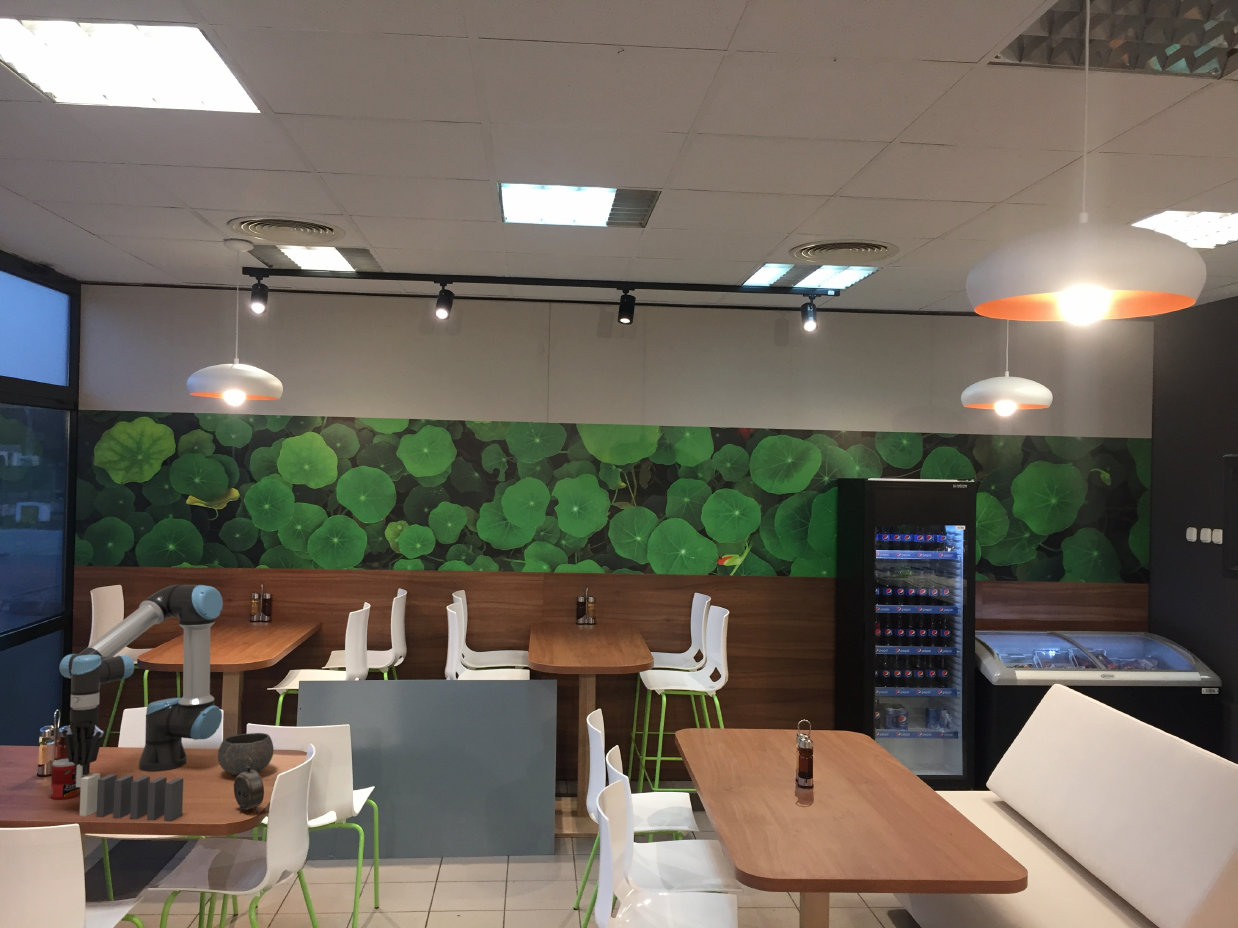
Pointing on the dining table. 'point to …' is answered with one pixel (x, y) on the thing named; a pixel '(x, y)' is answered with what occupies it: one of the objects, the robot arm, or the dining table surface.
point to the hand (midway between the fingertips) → (81, 785)
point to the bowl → (245, 752)
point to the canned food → (63, 780)
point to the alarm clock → (249, 789)
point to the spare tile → (89, 794)
